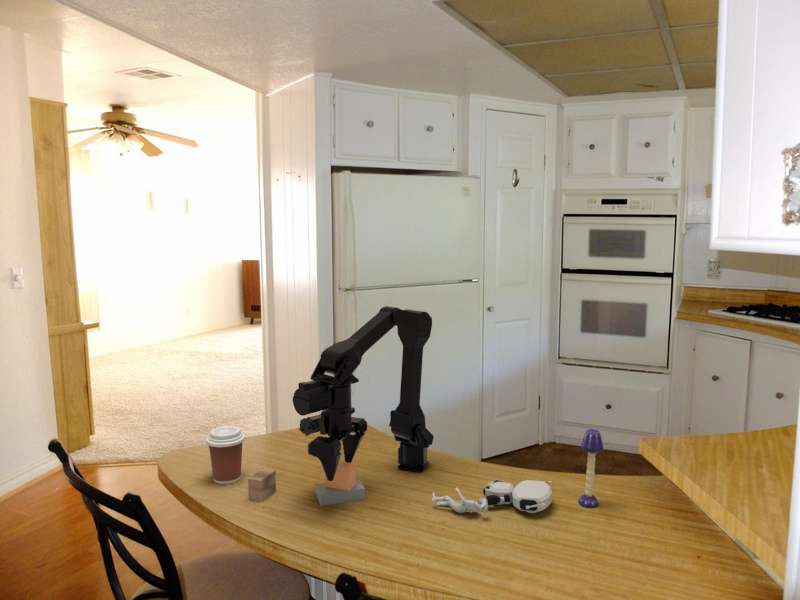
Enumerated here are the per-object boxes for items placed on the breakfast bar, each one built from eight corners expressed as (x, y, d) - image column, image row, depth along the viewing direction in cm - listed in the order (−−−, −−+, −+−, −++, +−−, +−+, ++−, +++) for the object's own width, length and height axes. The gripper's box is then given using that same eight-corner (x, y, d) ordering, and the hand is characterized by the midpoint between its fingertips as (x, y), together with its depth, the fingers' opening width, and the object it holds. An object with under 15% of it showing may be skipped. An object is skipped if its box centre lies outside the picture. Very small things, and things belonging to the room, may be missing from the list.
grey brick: (358, 490, 147) (358, 477, 146) (365, 501, 141) (364, 488, 141) (315, 496, 144) (315, 483, 143) (320, 507, 138) (320, 494, 138)
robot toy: (477, 515, 135) (548, 522, 130) (476, 495, 135) (547, 501, 130) (489, 492, 147) (555, 497, 142) (488, 473, 146) (554, 478, 141)
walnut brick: (263, 488, 147) (262, 468, 146) (276, 491, 146) (275, 470, 145) (248, 499, 141) (247, 478, 141) (261, 502, 140) (261, 480, 139)
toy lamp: (602, 501, 139) (605, 429, 137) (599, 510, 135) (602, 435, 133) (580, 497, 141) (582, 426, 139) (576, 506, 137) (579, 432, 135)
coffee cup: (216, 489, 146) (214, 440, 145) (201, 477, 153) (199, 429, 152) (253, 479, 152) (251, 431, 150) (236, 467, 159) (235, 421, 157)
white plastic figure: (445, 503, 142) (494, 496, 136) (443, 524, 138) (494, 518, 133) (428, 488, 137) (479, 481, 131) (427, 510, 133) (479, 503, 128)
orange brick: (355, 485, 143) (355, 463, 142) (349, 491, 139) (348, 469, 139) (332, 480, 145) (332, 460, 144) (325, 486, 142) (324, 465, 141)
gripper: (324, 390, 151) (325, 453, 153) (284, 413, 134) (286, 484, 136) (367, 395, 147) (368, 459, 149) (332, 419, 130) (333, 491, 132)
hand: (339, 472), depth 142 cm, fingers open, 9 cm apart
